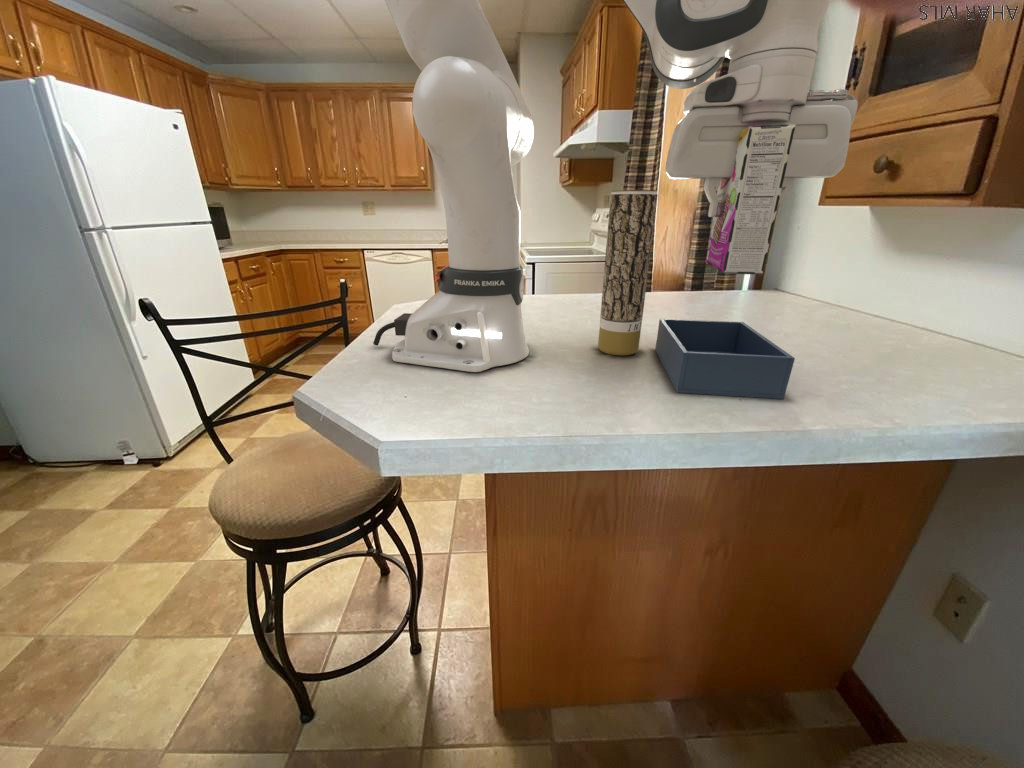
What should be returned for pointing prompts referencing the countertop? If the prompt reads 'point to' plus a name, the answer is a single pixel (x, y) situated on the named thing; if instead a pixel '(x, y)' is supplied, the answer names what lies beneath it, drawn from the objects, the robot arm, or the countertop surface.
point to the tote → (722, 359)
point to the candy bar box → (750, 200)
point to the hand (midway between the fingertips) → (740, 217)
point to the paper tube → (626, 269)
